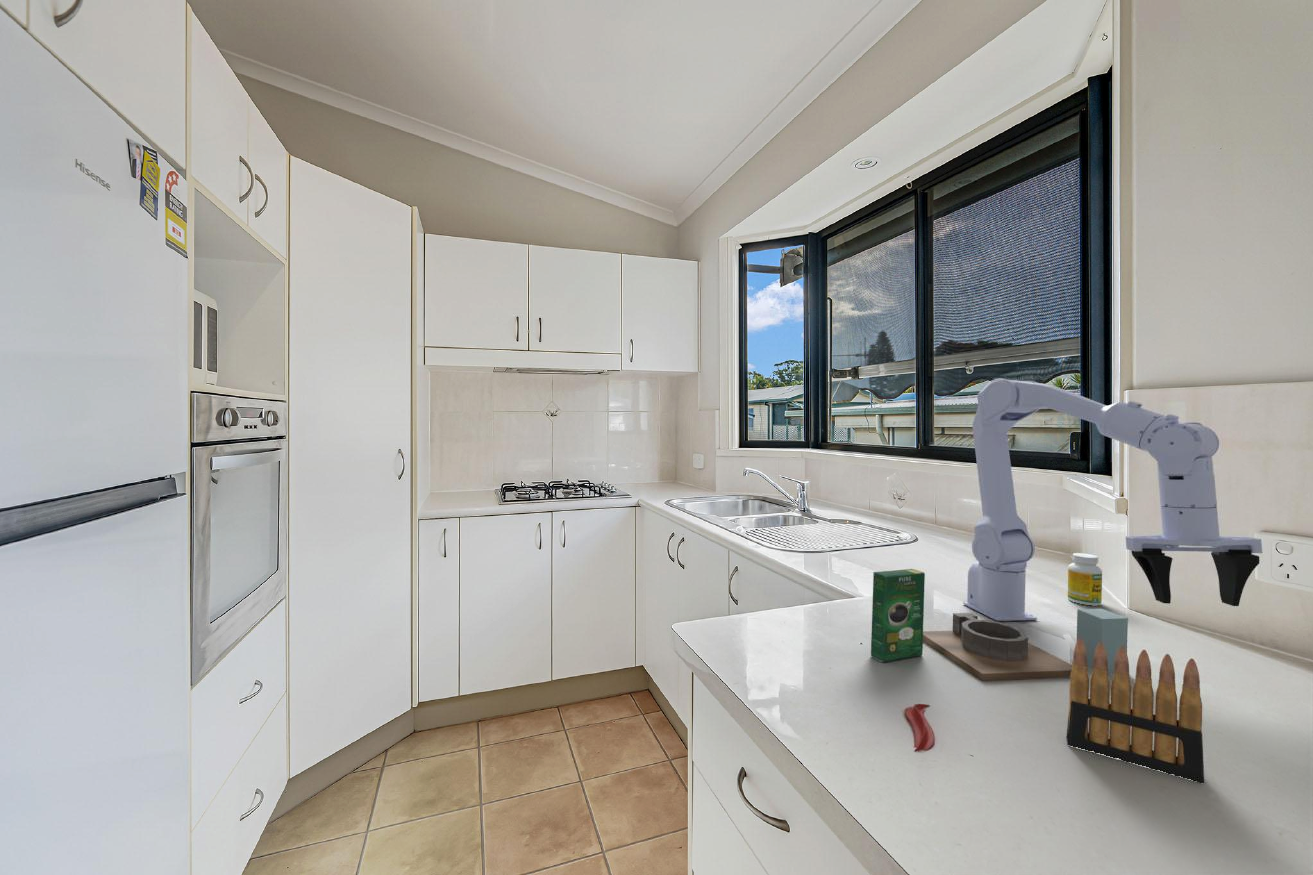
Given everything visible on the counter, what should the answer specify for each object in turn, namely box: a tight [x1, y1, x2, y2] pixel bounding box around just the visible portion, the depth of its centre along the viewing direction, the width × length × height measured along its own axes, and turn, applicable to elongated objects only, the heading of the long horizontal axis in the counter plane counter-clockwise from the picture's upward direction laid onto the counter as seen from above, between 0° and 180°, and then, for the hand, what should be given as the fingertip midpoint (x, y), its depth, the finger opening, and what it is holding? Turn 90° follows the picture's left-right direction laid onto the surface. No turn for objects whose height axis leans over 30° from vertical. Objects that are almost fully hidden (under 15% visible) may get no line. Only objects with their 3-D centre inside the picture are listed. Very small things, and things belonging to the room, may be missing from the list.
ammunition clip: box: [1066, 638, 1205, 785], centre depth 56 cm, size 11×2×12 cm, turn 55°
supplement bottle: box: [1067, 552, 1103, 607], centre depth 106 cm, size 5×5×10 cm
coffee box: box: [870, 568, 926, 663], centre depth 80 cm, size 8×3×13 cm, turn 110°
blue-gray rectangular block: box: [1076, 608, 1129, 675], centre depth 77 cm, size 4×4×8 cm
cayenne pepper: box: [903, 703, 936, 752], centre depth 62 cm, size 12×5×2 cm, turn 138°
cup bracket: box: [923, 612, 1072, 682], centre depth 81 cm, size 15×15×4 cm
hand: (1196, 603), depth 74 cm, fingers open, 7 cm apart
